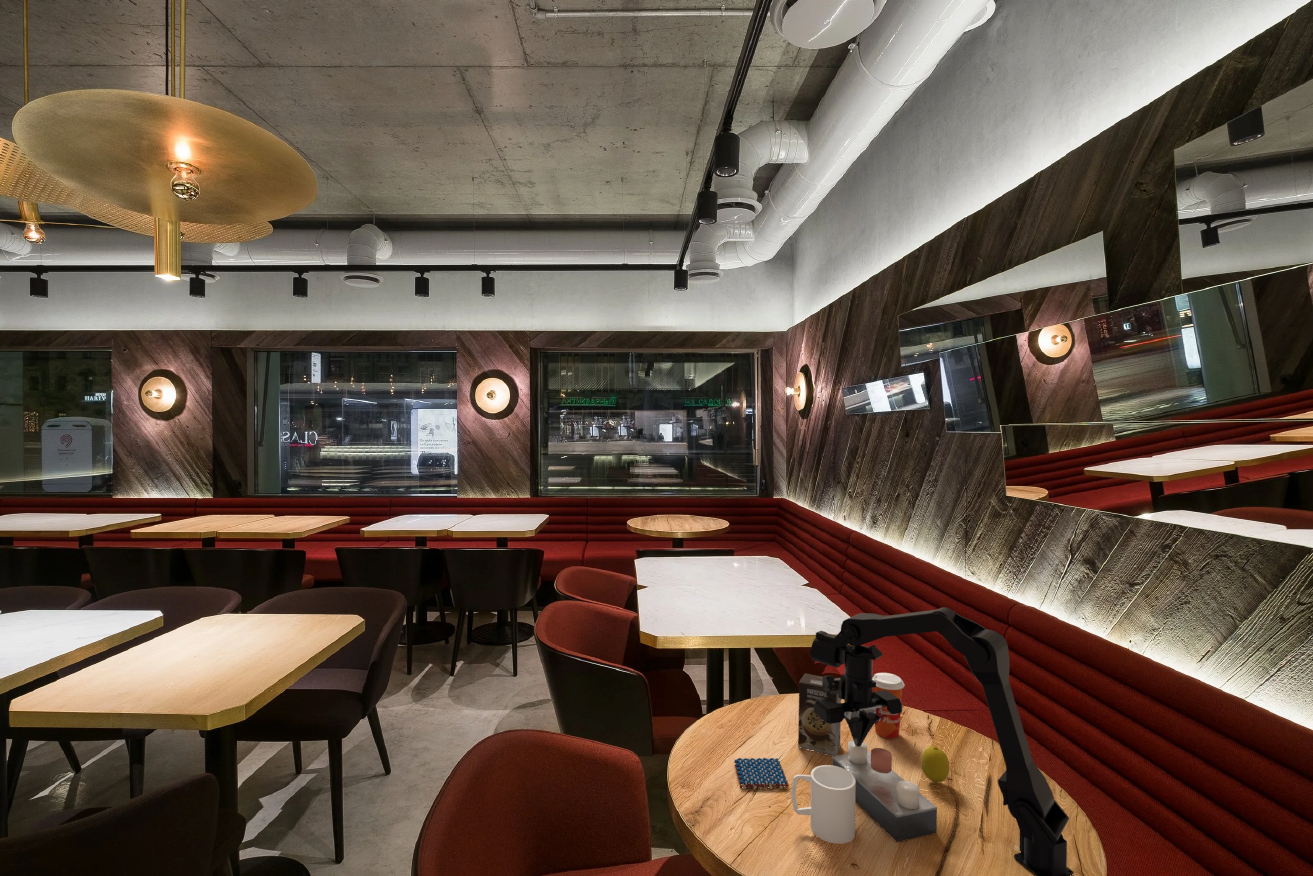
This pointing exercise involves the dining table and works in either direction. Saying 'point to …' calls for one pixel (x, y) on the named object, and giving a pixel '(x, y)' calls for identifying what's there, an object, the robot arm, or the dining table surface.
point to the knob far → (857, 753)
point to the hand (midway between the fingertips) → (857, 745)
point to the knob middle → (881, 760)
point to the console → (888, 801)
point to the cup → (830, 803)
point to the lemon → (935, 764)
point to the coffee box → (816, 718)
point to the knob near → (908, 794)
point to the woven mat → (760, 773)
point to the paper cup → (888, 722)
